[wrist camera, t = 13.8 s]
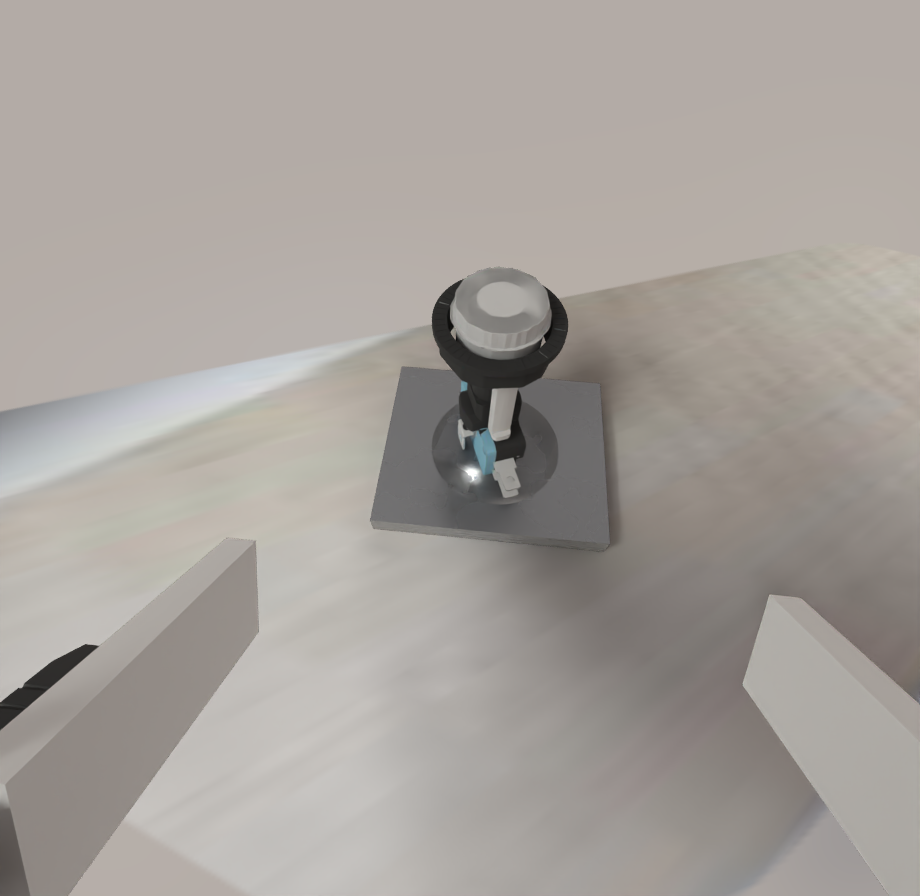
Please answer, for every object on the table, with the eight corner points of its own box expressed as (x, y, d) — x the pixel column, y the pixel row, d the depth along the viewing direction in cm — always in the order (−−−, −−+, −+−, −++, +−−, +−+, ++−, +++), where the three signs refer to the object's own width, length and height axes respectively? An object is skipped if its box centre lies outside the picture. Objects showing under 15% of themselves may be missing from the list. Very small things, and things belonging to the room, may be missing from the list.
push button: (557, 489, 25) (612, 365, 16) (459, 514, 24) (462, 397, 15) (516, 390, 28) (544, 242, 19) (428, 409, 27) (416, 264, 19)
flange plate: (373, 528, 25) (370, 520, 24) (403, 378, 30) (401, 366, 29) (603, 551, 24) (610, 544, 23) (595, 395, 29) (600, 383, 28)
